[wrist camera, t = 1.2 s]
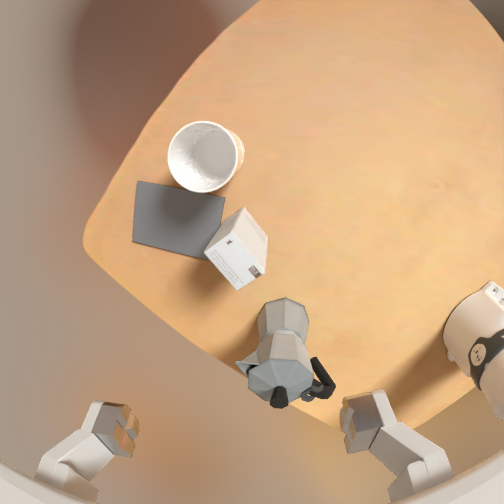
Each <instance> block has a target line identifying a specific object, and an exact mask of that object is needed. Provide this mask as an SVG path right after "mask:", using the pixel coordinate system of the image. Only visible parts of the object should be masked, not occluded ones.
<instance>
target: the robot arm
mask: <svg viewBox="0 0 504 504" xmlns="http://www.w3.org/2000/svg"><path fill="white" fill-rule="evenodd" d="M443 340H444V344H445V346H446V347H447V350H448V352H447V357H448V359H449V360H450V361H455V362H456V363H457V364H458V366H459V367H460V368H461V370H462V371H463V373H464V374H465V375H466V376H467V377H472V379H473V382H474V384H475V385H476V386H477V387H478V389H479V390H481V391H483V393H484V395H485V397H486V399H487V401H488V402H489V404H490V406H491V408H492V410H493V412H494V414H495V415H496V416H497V417H498V418H500V419H502V420H504V289H503V288H501V287H500V286H499V285H497V284H496V283H495V282H493V281H490V282H488V283H487V284H486V285H485V286H484V287H483V288H482V289H481V290H479V291H478V292H476V293H474V294H472V295H470V296H468V297H467V298H466V299H464V300H463V301H462V302H461V303H460V304H459V305H458V306H457V307H456V308H455V310H454V311H453V312H452V314H451V315H450V317H449V319H448V321H447V323H446V325H445V328H444V333H443ZM342 403H343V408H341V410H340V425H341V429H342V431H343V432H344V433H345V434H346V436H345V439H344V442H345V446H346V450H347V453H348V454H350V453H355V452H360V451H365V450H369V452H371V453H372V454H373V455H374V456H375V457H376V458H377V459H378V460H379V461H380V462H382V463H383V464H384V465H385V466H386V467H387V468H388V469H389V470H391V471H392V472H393V473H394V474H395V475H396V476H397V479H396V480H395V481H394V482H393V483H392V484H391V485H390V486H389V488H388V492H389V496H390V500H391V503H389V504H504V449H502V450H501V451H499V452H498V453H496V454H494V455H493V456H491V457H490V458H488V459H486V460H485V461H483V462H481V463H480V464H478V465H476V466H474V467H472V468H471V469H469V470H467V471H465V472H463V473H461V474H459V475H457V476H454V474H453V471H452V468H451V466H450V463H449V461H448V458H447V456H446V454H445V451H444V450H443V449H442V448H440V447H439V446H437V445H435V444H434V443H432V442H431V441H429V440H428V439H426V438H425V437H423V436H422V435H420V434H418V433H417V432H416V431H414V430H413V429H411V428H410V427H408V426H407V425H405V424H404V423H402V422H397V420H396V417H395V415H394V412H393V410H392V408H391V405H390V403H389V400H388V398H387V395H386V393H385V391H384V390H383V389H380V390H376V391H372V392H366V393H362V394H357V395H352V396H348V397H344V398H343V402H342ZM130 412H131V409H130V407H129V406H128V405H124V404H116V403H109V402H104V401H97V400H95V401H94V402H93V403H92V404H91V406H90V408H89V411H88V413H87V416H86V418H85V420H84V423H83V425H82V428H81V430H76V431H75V432H74V433H72V434H71V435H70V436H68V437H67V438H66V439H64V440H63V441H62V442H60V443H59V444H58V445H57V446H55V447H54V448H52V449H51V450H49V451H48V452H47V453H45V454H44V455H43V457H42V459H41V462H40V464H39V467H38V469H37V472H36V474H35V477H34V478H33V477H31V476H29V475H27V474H25V473H23V472H22V471H19V470H18V469H16V468H14V467H13V466H11V465H9V464H7V463H6V462H4V461H2V460H1V459H0V504H97V503H96V499H97V495H98V491H99V490H98V488H97V487H95V486H94V485H93V484H91V483H90V481H91V480H92V479H93V477H94V476H95V475H96V474H97V473H98V472H99V471H100V470H101V469H102V468H103V467H104V466H105V465H106V464H107V463H108V462H109V461H110V460H111V459H112V458H113V457H114V455H118V456H124V457H131V458H132V456H133V452H134V448H135V443H134V441H133V440H134V439H135V438H136V437H137V436H138V433H139V422H138V419H137V418H136V416H135V415H133V414H132V413H130Z"/></svg>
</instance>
